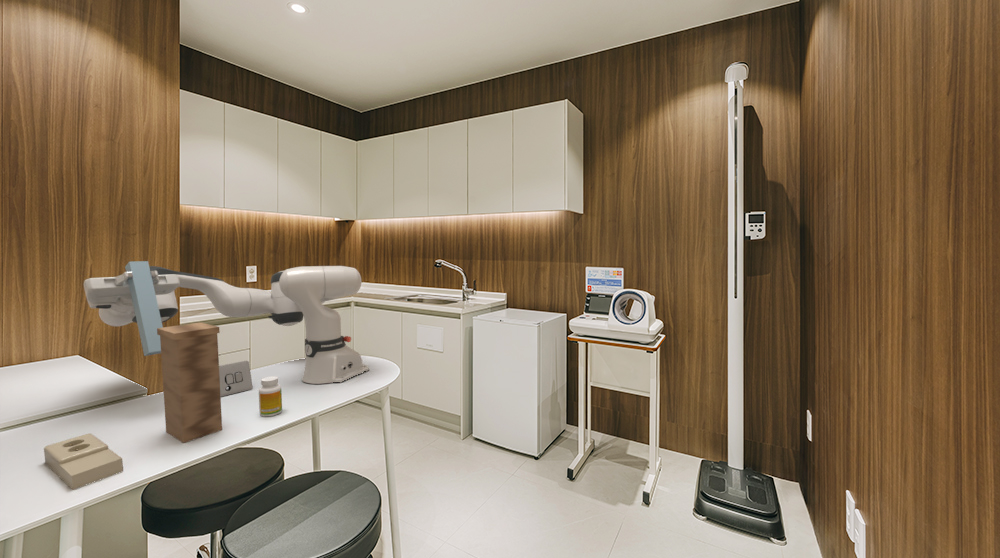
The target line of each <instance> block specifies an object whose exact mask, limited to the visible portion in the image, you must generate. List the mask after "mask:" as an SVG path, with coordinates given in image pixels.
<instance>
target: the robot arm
mask: <svg viewBox="0 0 1000 558" xmlns="http://www.w3.org/2000/svg"><path fill="white" fill-rule="evenodd" d="M149 268H150V273H151V277H152V281H153V286H154V290H155V295H156V299H157V303H158V308H159V312H160V317H161V321H162V323H165V322H167V321H169V320H171V319H172V318H173V317H175V316H176V315H177V314H178V312H179V307H178V302H177V297H176V294H175V293H176V292H175V290H176V289H178V288H183V289H184V288H185V289H193V290H197V291H199V292H201V293H202V294H204V295H205V296H206V298H208V300H209V301H210V302H211V305H212V306H214V308H215V310H216V311H218V313H220V314H221V315H222V316H225V317H229V318H246V317H247V318H248V317H249V318H250V317H255V316H262V315H266V314H270V315H269V316H268V319H271V320H272V321H273V322H274V323H275V324H277V325H279V326H282V327H283V326H284V327H290V326H295V325H298V324H299V323H301V322H302V321H304V324H305V339H304V351H305V352H304V353H305V364H304V370H303V375H302V378H301V380H302V382H303V383H307V384H313V385H317V384H318V385H319V384H329V383H331V384H332V383H333V382H340V383H343V382H342V381H344V380H346V381H348V380H350V379H352V378H351V377H353V376H355V375H357V376H359V375H358V374H360V373H362V372H364V371H366V372H368V371H367V370H369V371H370V367H369V366H368V365H366V364H363V360H362V356H361V354H360V353H359V352H358V351H356V350H354V349H353V348H351V347H349V346H348V345H347V344H346V343H350V342H351V341H352V337H351V336H348V335H345V336H343V335H342V329H341V328H342V326H341V325H342V324H341V323H342V322H341V315H340V314H339V312H338V311H336V310H335V309H333V308H331V307H328V306H325V305H323V304H324V303H325V302H330V301H333V300H337V299H340V298H344V297H348V296H349V297H350V296H352V295H356V294H357V293H358V292H359V291H360V289H361V286H362V276H361V274H360V272H359V270H358V269H357V268H355V267H350V266H345V265H316V266H315V265H313V266H311V265H310V266H306V265H305V266H296V267H291V268H287V269H285V270H280V271H278V272H275V273H274V274H272V275H271V278H270V285H271V288H270V291H268V290H267V289H266V290H265V289H260V288H254V287H237V286H235V285H231V284H229V283H227V282H226V281H224V280H223V279H221V278H218V277H213V276H206V275H201V274H196V273H189V272H183V271H178V270H173V269H169V268H166V267H162V266H159V265H157V266H155V265H149ZM132 278H133V275H132V272H126V271H124V272H123V273H122V274H119V275H117V276H113V277H112V276H108V277H107V276H106V277H103V276H102V277H90V278H87V279H85V280H84V281H83V289H84V293H85V297H86V301H87V305H88V306H89V308H90V309H98V316H99V318H100V320H101V321H102V322H103V323H104V324H106V325H108V326H111V327H122V326H127V325H129V324H131V323H136V324H137V320H136V315H135V310H134V306H133V301H132V297H131V292H130V287H129V283H128V280H132ZM364 373H365V372H364ZM362 374H363V373H362ZM360 375H361V374H360ZM355 377H356V376H355ZM349 378H350V379H349ZM353 378H354V377H353ZM347 379H348V380H347ZM344 382H345V381H344Z"/></svg>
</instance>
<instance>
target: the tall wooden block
mask: <svg viewBox="0 0 1000 558" xmlns="http://www.w3.org/2000/svg"><path fill="white" fill-rule="evenodd" d="M220 332H221V331H220V326H218V325H213V324H209V323H205V322H201V321H200V322H195V323H193V322H192V323H187V324H179V325H172V326H171V325H170V326H165V327H164V326H163V328H157V335H160V342H161V353H160V354H161V355H160V356H161V371H162V372H161V373H162V386H163V401H164V403H163V405H164V419H165V432H166V433H167V434H168V435H170V436H172V437H173V438H175V439H176V440H178V441H180V442H181V443H183V444H184V443H189V442H191V441H193V440H197V439H200V438H202V437H206V436H208V435H211V434H213V433H217V432H220V431H222V430H223V420H222V418H223V417H222V400H221V399H222V398H221V396H220V377H219V366H220V364H219V363H220V361H219V359H220V358H219V357H220V356H219V339H218V334H220Z"/></svg>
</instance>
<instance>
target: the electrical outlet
mask: <svg viewBox="0 0 1000 558" xmlns="http://www.w3.org/2000/svg"><path fill="white" fill-rule="evenodd" d="M43 454H44V464H45V465H46V466H48V467H49V468H50V469H51V470H52V472H53V473H55V474H56V475H57V476H58V477H59V478H60V479H61V480H62V481H63V482H64V483H65V484H66V485H67V486H68V487H69V488H70V489H71V490H77V489H79V488H82V487H84V486H87V485H90V484H92V482H93V483H95V482H98V481H101V480H102V479H103V478H104V479H106V478H108V477H112V476H115V475H117V474H119V472H120V473H122V472H121V471H123V472H124V464H123V463H124V461H123V457H121V456H120V455H118V453H116V452H114V451H113V450H112V449H110V448H109V445H108V444H107V443H106V442H104V441H102V440H101V439H100V438H98V437H97V436H95V435H94V434H92V433H86V434H85V433H84V434H82V435H79V436H75V437H71V438H69V439H64V440H62V441H59V442H56V443H52V444H49V445H46V446H45V447H44V448H43ZM116 473H117V474H116ZM100 479H101V480H100ZM94 481H95V482H94ZM89 483H90V484H89ZM86 484H87V485H86Z"/></svg>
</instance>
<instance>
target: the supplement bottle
mask: <svg viewBox="0 0 1000 558" xmlns="http://www.w3.org/2000/svg"><path fill="white" fill-rule="evenodd" d="M260 381H261V382H260V384H261V387H259V389H258V405H259V408H258V409H259V411H258V412H259V415H260V416H261V417H273V416H276V415H277V416H278V415H279V414H281V413H282V411H283V400H282V399H283V398H282V397H283V396H282V386H281V384H279V377H278V376H266V377H263V378H261V380H260Z"/></svg>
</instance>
